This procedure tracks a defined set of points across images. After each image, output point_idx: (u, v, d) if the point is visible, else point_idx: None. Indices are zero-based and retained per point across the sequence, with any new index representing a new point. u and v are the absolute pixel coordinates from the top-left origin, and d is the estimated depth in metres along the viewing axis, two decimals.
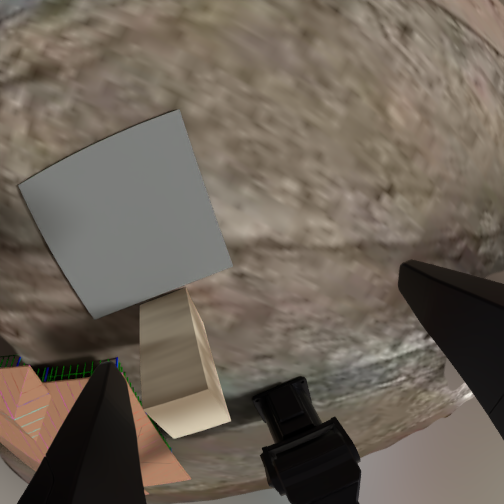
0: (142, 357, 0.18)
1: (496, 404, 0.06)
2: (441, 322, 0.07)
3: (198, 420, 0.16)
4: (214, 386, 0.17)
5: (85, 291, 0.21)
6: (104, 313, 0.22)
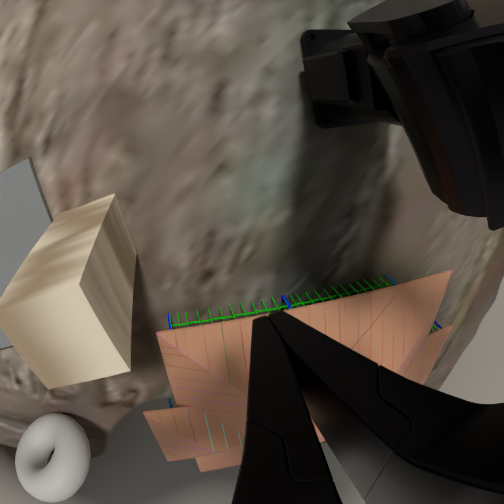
0: None
1: (367, 494, 0.05)
2: (303, 390, 0.07)
3: (69, 334, 0.09)
4: (38, 278, 0.09)
5: None
6: None
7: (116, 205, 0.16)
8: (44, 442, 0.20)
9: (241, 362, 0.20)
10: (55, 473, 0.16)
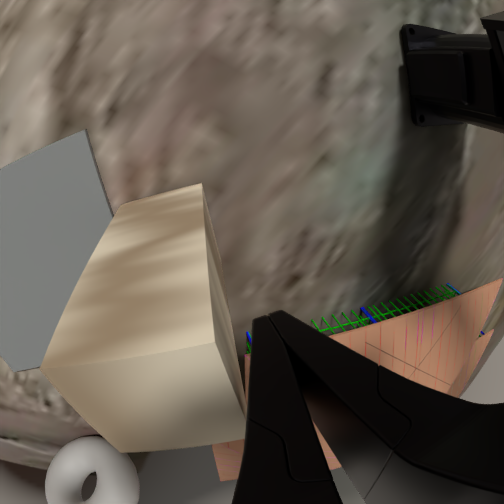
0: None
1: (366, 494, 0.05)
2: (303, 391, 0.07)
3: (177, 402, 0.06)
4: (119, 313, 0.07)
5: None
6: None
7: (204, 199, 0.14)
8: (79, 469, 0.18)
9: None
10: None
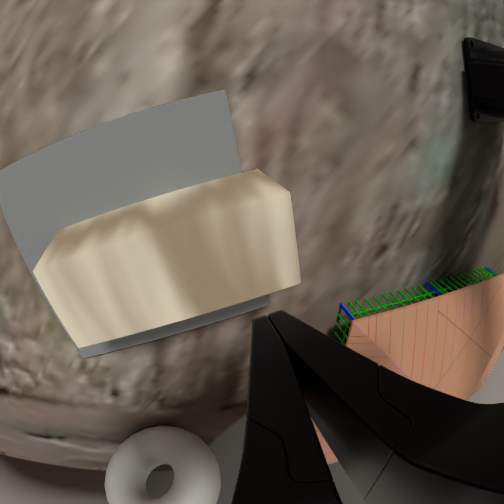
0: None
1: (367, 494, 0.05)
2: (303, 390, 0.07)
3: None
4: (75, 236, 0.11)
5: (222, 309, 0.17)
6: None
7: (268, 212, 0.11)
8: (146, 464, 0.19)
9: (412, 345, 0.19)
10: (187, 502, 0.15)
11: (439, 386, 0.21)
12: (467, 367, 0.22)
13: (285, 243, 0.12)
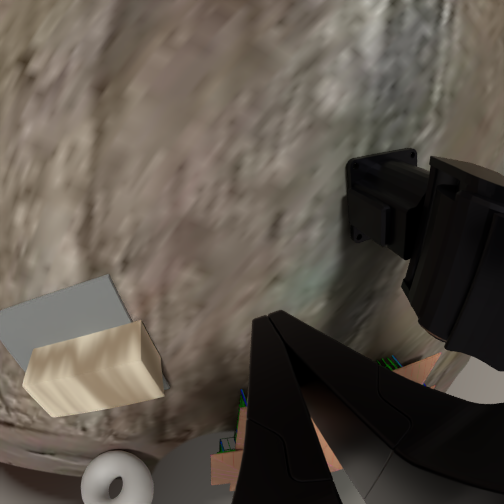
0: None
1: (367, 494, 0.05)
2: (303, 390, 0.07)
3: None
4: (41, 362, 0.18)
5: None
6: (163, 381, 0.24)
7: (131, 368, 0.17)
8: (107, 475, 0.25)
9: None
10: (128, 503, 0.21)
11: (326, 450, 0.28)
12: None
13: (146, 380, 0.18)
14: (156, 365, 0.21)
